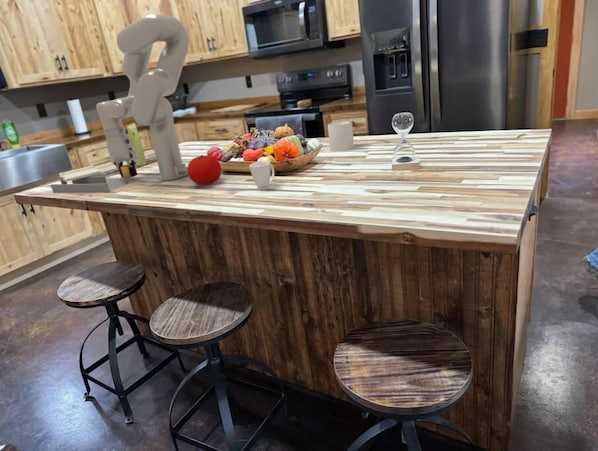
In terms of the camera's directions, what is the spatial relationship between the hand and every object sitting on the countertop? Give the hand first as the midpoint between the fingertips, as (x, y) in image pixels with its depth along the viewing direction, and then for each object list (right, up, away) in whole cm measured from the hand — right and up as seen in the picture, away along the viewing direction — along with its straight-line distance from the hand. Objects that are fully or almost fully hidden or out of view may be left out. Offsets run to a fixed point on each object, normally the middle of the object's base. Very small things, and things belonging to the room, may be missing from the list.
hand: (129, 176), depth 176 cm
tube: (-6, +9, +28) cm, 30 cm away
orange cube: (0, 0, 0) cm, 0 cm away
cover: (-21, -3, +3) cm, 22 cm away
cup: (+60, -8, -35) cm, 70 cm away
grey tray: (-12, -4, -2) cm, 13 cm away
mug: (+89, +13, +6) cm, 90 cm away
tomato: (+37, -5, -21) cm, 43 cm away
